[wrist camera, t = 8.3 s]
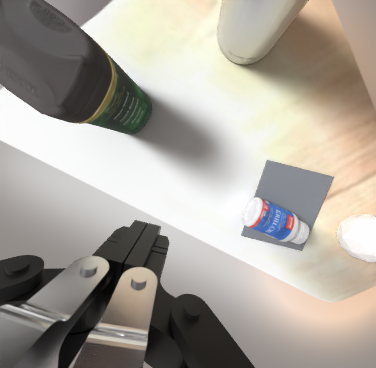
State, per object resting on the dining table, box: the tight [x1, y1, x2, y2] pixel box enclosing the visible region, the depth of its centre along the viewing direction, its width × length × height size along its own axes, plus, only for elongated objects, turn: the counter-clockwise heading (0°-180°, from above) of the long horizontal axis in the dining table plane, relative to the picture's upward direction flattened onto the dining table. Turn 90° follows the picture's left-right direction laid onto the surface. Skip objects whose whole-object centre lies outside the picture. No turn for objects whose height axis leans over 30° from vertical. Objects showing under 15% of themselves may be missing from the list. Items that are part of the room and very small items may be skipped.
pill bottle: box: [243, 197, 309, 244], centre depth 31 cm, size 6×5×10 cm
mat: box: [241, 160, 334, 251], centre depth 33 cm, size 15×12×1 cm
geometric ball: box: [336, 214, 376, 262], centre depth 30 cm, size 8×8×8 cm
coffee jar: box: [0, 0, 152, 134], centre depth 22 cm, size 10×8×19 cm
